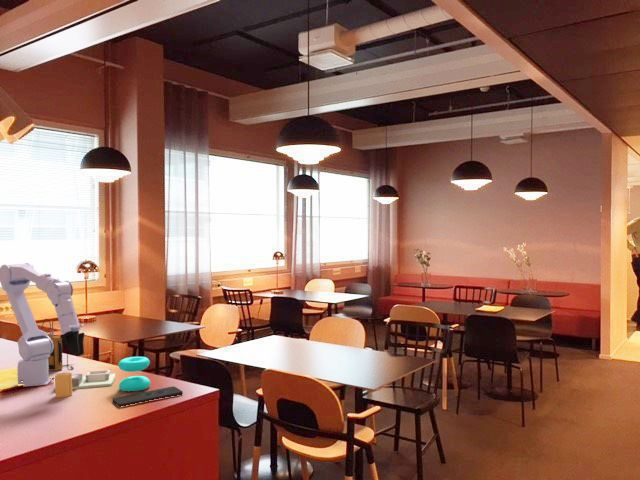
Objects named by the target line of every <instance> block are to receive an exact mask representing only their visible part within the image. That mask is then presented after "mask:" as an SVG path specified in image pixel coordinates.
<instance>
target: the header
mask: <svg viewBox="0 0 640 480" xmlns="http://www.w3.org/2000/svg"><path fill="white" fill-rule="evenodd" d="M111 374H112V370H111V369H100V370H99V369H97V370H89V371H87V373H86V374H85V376H86V382H88V381H100V380H109V378H110V376H111Z"/></svg>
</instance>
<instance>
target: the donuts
mask: <svg viewBox="0 0 640 480" xmlns="http://www.w3.org/2000/svg"><path fill="white" fill-rule="evenodd" d="M150 364H151V362H150V359H149V358H148V357H146V356H129V357H125V358H123V359H121V360H120V361H119V362H118V368H119V369H120V370H121V371H123V372H127V373H132V372H139V371H143V370H146V369H147V368H148V367H149V365H150ZM150 385H151V380H150V379H149V378H148V377H147V376H145V375H134V376H133V375H132V376H128V377H124V378H123V379H122V380H120V382H119V384H118V388H119V390H121V391H122V392H125V391H128V392H127V393H130V392H129V391H136V392H140V391H139V390H141V391H143V390H144V391H145V390H146V389H148V388H149V387H150Z"/></svg>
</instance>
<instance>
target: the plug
mask: <svg viewBox="0 0 640 480" xmlns="http://www.w3.org/2000/svg"><path fill="white" fill-rule="evenodd" d="M72 375H73V373H72V372H59V373H56V374H55V375H54V381H55V382H54V391H55V390H56V391H55V399H56V398H65V397H66V398H67V397H70V396H71V397H72V396H73V389H72Z"/></svg>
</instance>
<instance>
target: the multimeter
mask: <svg viewBox="0 0 640 480" xmlns="http://www.w3.org/2000/svg"><path fill="white" fill-rule="evenodd" d="M46 321H48V322H49V335H48V336H49V338H50V339H51V340H52V341H53V345H54V348H53V351H52V353H51V354H50V357H48V368H49V371H55V372H58V371H62V370H63V367H66V368H67V370H68V371H70V370H71V371H72V370H73V369H74V366H73V365H75V363H74V364H73V363H72V364H71V363H70V364H69V363H68V362H69V350H67V355H66V364H63V342H62V341H63V339H62V338H61V337H60V335H54V334H55V333H54V322H55V321H56V319H54V320H53V321H52V323H51V322H50V320H49V319H48V318H45V319H44V320H43V322H42V324H41V329H40V330H42V331H43V326H44V323H45V322H46ZM57 321H58V322H59V320H58V319H57ZM69 366H70V368H69Z"/></svg>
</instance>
